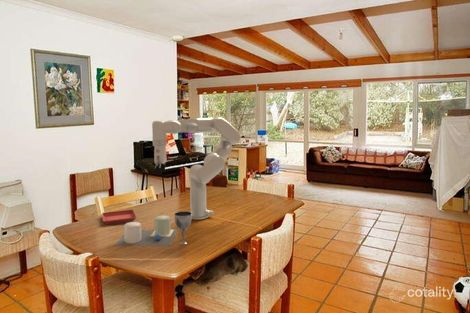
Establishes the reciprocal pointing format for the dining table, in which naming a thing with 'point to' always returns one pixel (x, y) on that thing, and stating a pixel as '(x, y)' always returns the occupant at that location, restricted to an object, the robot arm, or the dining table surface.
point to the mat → (150, 238)
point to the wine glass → (183, 222)
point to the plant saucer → (118, 217)
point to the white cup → (132, 232)
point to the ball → (157, 237)
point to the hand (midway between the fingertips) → (160, 173)
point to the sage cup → (162, 225)
